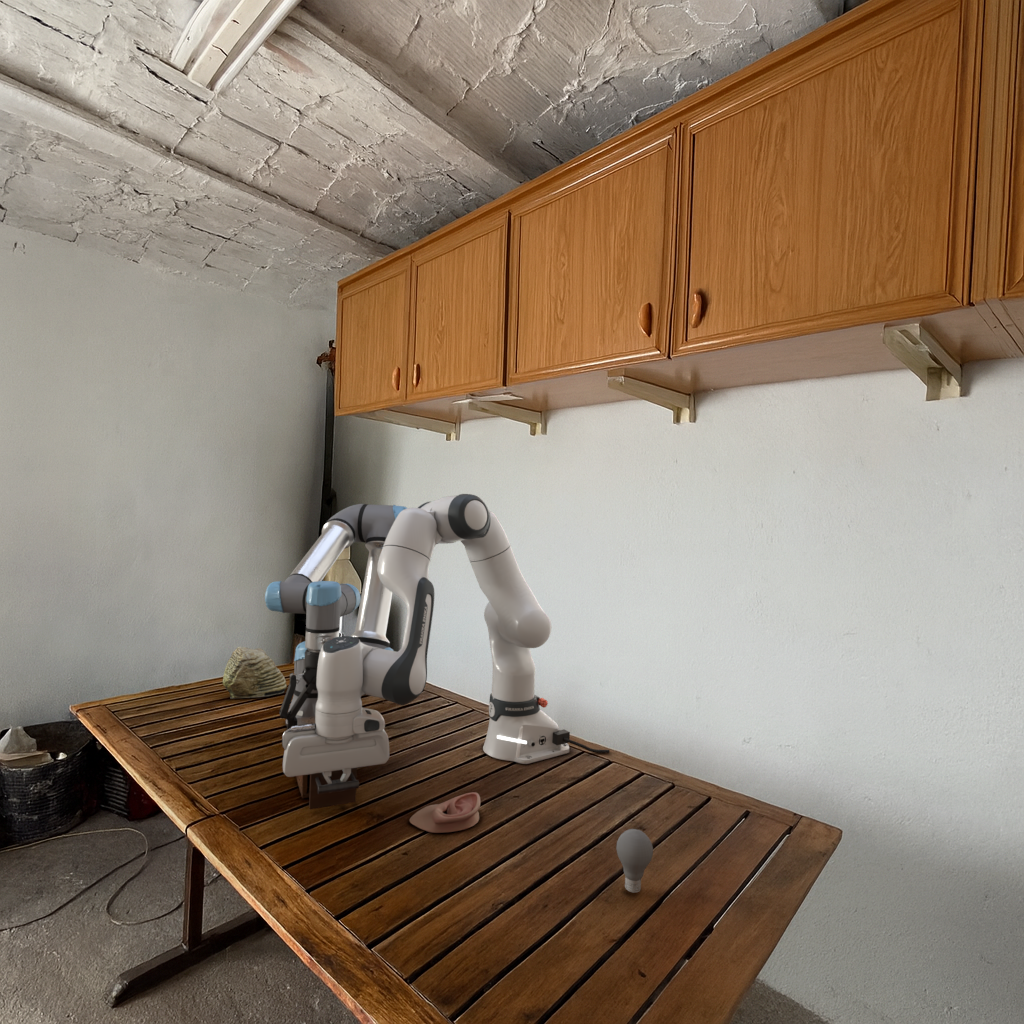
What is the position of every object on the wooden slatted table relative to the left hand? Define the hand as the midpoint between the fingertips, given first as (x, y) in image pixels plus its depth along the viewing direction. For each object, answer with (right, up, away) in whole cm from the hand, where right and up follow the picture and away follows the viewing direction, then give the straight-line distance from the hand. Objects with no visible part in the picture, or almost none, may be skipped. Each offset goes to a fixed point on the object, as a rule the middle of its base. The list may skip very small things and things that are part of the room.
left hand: (318, 744), depth 147 cm
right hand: (+10, -1, -22) cm, 24 cm away
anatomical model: (+31, -8, -20) cm, 38 cm away
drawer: (+6, -5, -14) cm, 16 cm away
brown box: (+2, -6, -4) cm, 7 cm away
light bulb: (+65, -10, -41) cm, 77 cm away
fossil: (-36, -3, +51) cm, 63 cm away
